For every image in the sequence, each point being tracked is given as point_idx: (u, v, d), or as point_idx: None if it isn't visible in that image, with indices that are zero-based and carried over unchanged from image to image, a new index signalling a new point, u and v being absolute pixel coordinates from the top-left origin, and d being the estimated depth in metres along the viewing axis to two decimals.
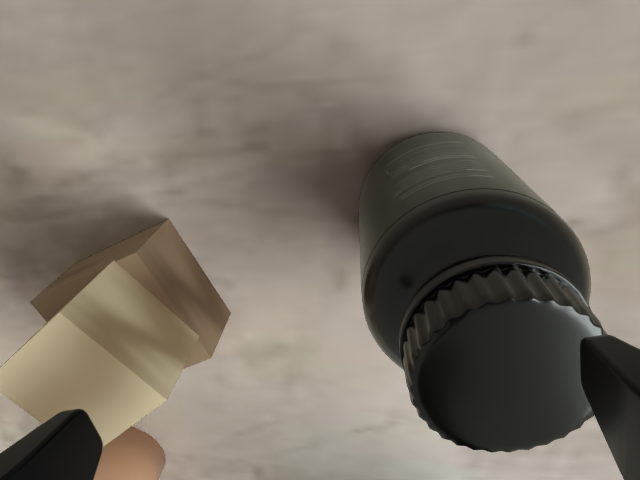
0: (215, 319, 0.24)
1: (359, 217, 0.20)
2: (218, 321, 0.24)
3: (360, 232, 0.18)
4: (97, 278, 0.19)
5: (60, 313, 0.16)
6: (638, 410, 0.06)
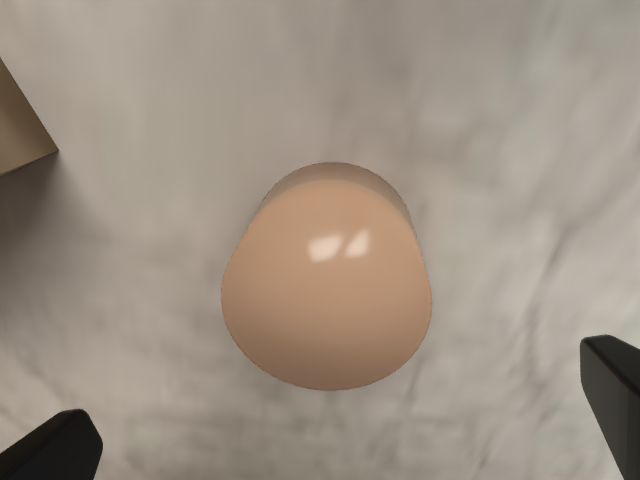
0: None
1: None
2: None
3: None
4: None
5: None
6: (638, 410, 0.06)
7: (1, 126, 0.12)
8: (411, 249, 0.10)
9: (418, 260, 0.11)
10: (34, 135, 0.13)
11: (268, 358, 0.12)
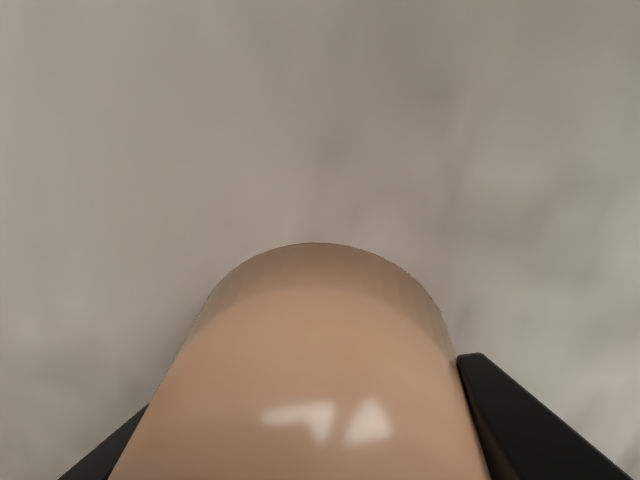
0: None
1: None
2: None
3: None
4: None
5: None
6: (480, 428, 0.06)
7: None
8: None
9: None
10: None
11: None
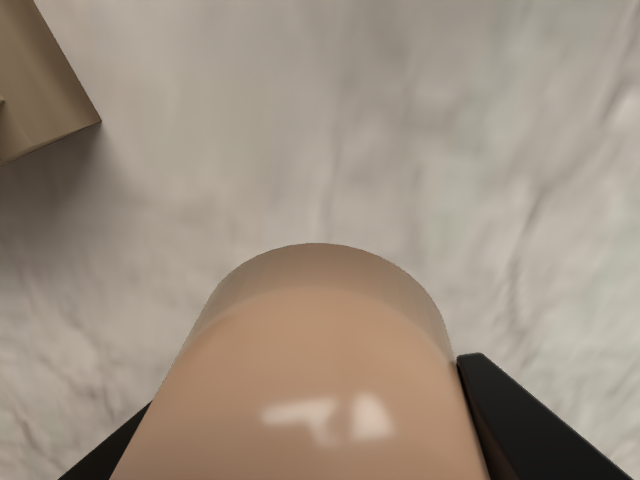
0: None
1: None
2: None
3: None
4: None
5: None
6: (480, 428, 0.06)
7: (59, 97, 0.15)
8: None
9: None
10: (83, 106, 0.16)
11: None
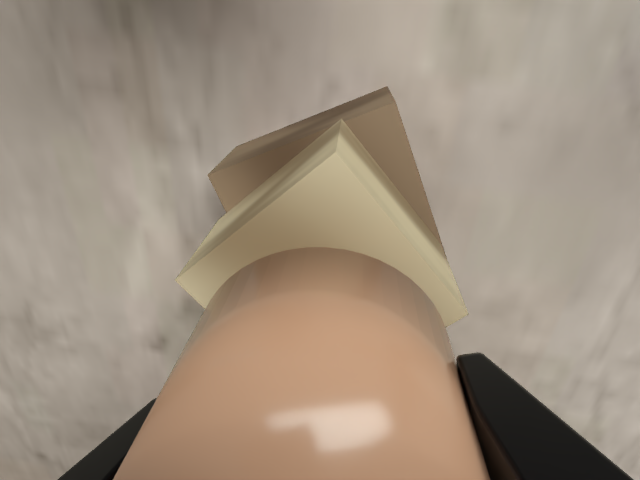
0: (369, 100, 0.15)
1: None
2: (375, 97, 0.15)
3: None
4: (207, 236, 0.14)
5: (177, 279, 0.11)
6: (480, 428, 0.06)
7: None
8: None
9: None
10: None
11: None
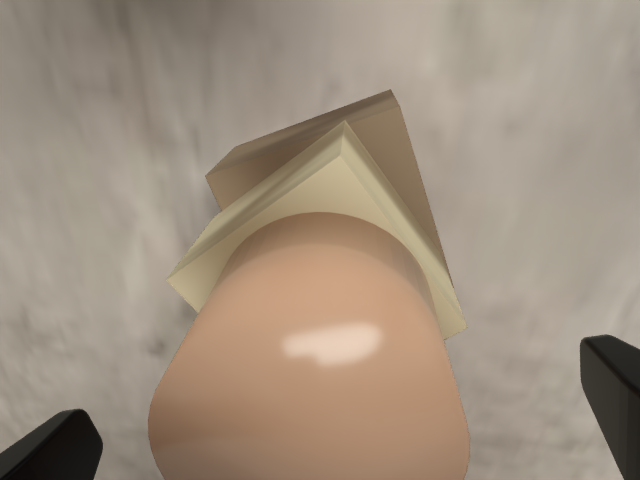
0: (372, 103, 0.15)
1: None
2: (378, 100, 0.15)
3: None
4: (201, 235, 0.13)
5: (168, 279, 0.11)
6: (638, 410, 0.06)
7: None
8: (444, 380, 0.07)
9: (453, 396, 0.07)
10: None
11: None
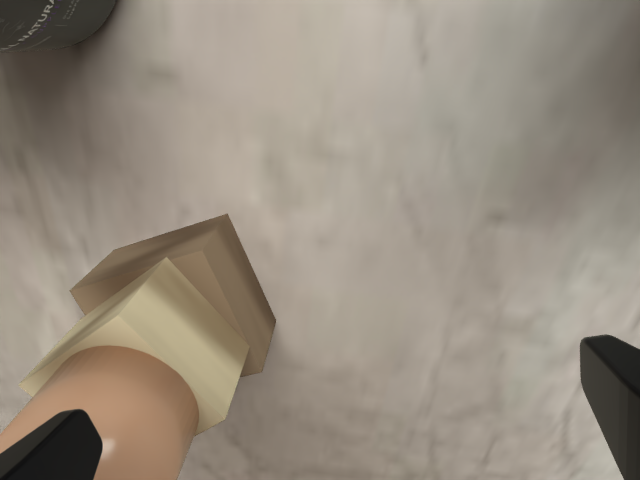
0: (202, 232, 0.20)
1: None
2: (207, 230, 0.20)
3: None
4: (62, 339, 0.18)
5: (19, 384, 0.16)
6: (638, 410, 0.06)
7: (262, 321, 0.22)
8: None
9: None
10: (269, 317, 0.23)
11: None
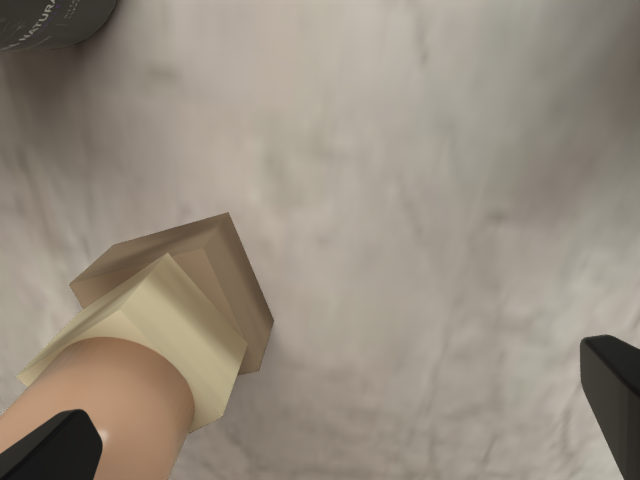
0: (203, 230, 0.20)
1: None
2: (208, 228, 0.20)
3: None
4: (60, 332, 0.18)
5: (17, 376, 0.16)
6: (638, 410, 0.06)
7: (260, 320, 0.22)
8: (118, 474, 0.12)
9: None
10: (267, 316, 0.23)
11: None
